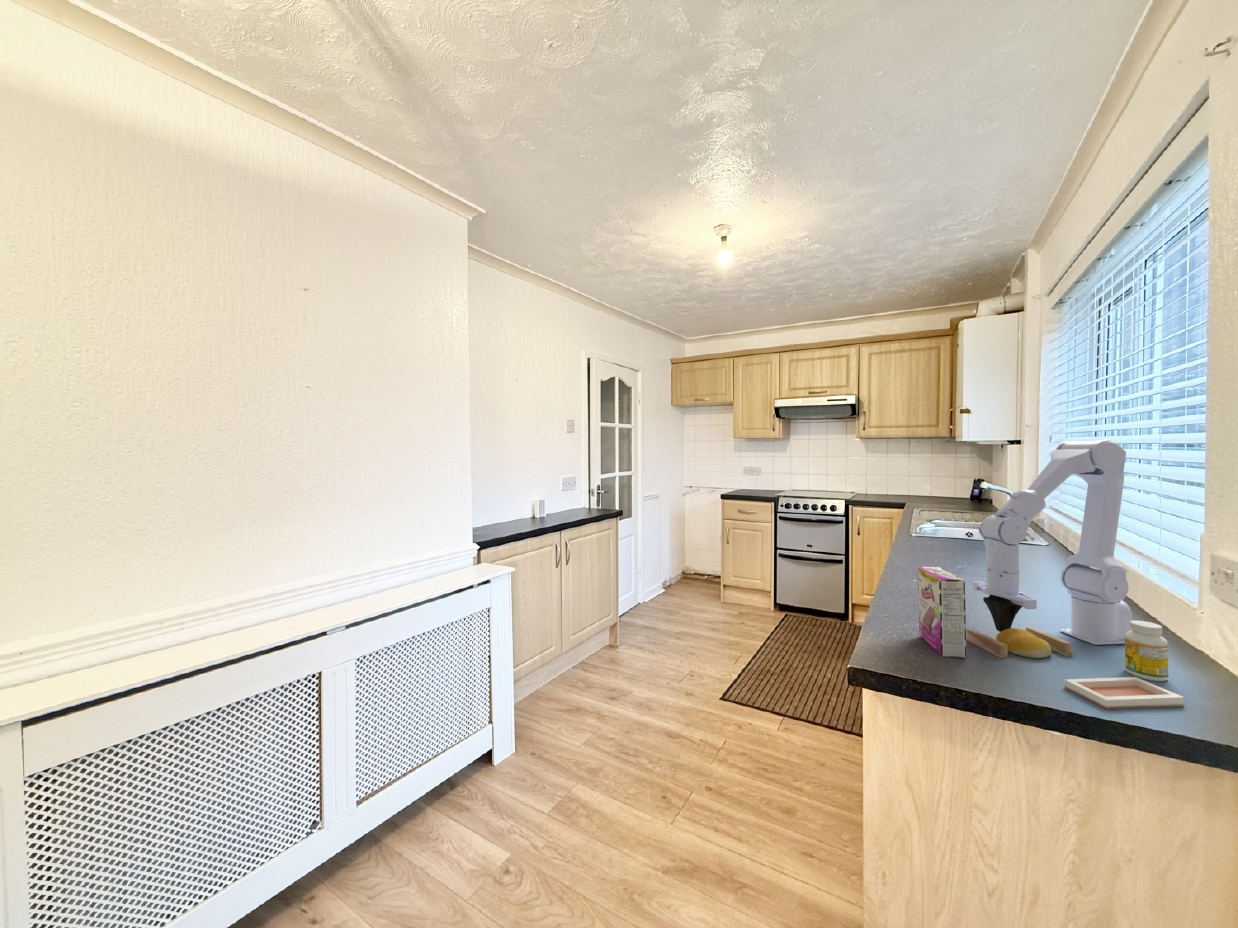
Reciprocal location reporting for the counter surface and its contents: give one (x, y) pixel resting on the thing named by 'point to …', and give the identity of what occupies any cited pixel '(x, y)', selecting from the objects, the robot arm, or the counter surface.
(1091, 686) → the tray
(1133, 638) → the supplement bottle
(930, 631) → the candy bar box
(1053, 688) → the counter surface
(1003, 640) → the bread roll
